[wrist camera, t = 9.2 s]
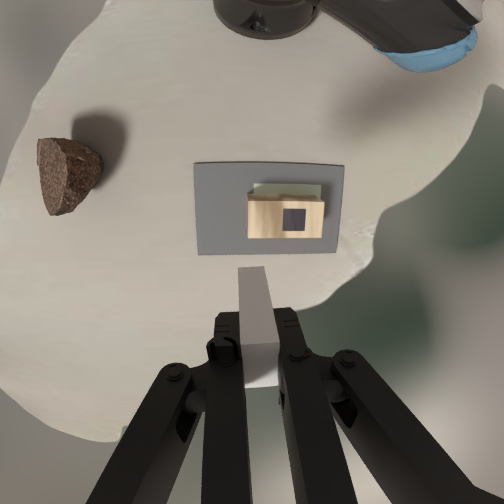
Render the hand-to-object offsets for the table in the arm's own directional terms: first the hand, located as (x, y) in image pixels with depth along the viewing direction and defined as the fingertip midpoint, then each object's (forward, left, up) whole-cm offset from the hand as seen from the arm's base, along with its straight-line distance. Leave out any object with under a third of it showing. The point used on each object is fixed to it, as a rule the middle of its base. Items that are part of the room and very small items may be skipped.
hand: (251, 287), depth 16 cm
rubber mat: (-3, +4, -25) cm, 26 cm away
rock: (+17, -19, -26) cm, 36 cm away
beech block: (0, +2, -22) cm, 22 cm away
